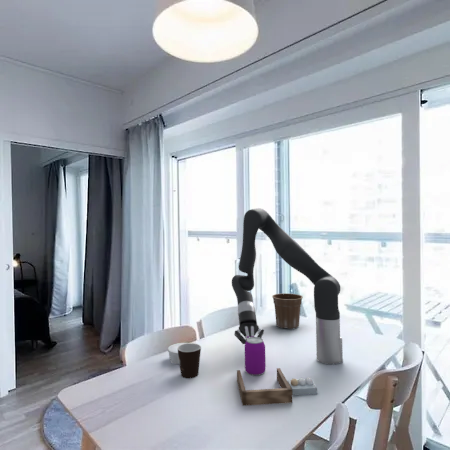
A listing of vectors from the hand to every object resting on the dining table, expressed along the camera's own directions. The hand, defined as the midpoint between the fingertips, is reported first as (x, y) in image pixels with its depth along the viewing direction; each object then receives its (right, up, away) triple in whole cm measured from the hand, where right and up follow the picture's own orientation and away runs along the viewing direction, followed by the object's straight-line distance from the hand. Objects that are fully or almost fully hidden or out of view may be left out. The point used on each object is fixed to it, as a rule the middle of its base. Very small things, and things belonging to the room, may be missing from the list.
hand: (251, 353), depth 129 cm
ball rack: (+15, -3, -22) cm, 27 cm away
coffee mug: (-23, -4, -8) cm, 25 cm away
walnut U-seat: (+2, -4, -22) cm, 22 cm away
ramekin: (-28, -5, +4) cm, 29 cm away
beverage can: (+1, -4, -8) cm, 9 cm away
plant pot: (+24, -4, +47) cm, 53 cm away
